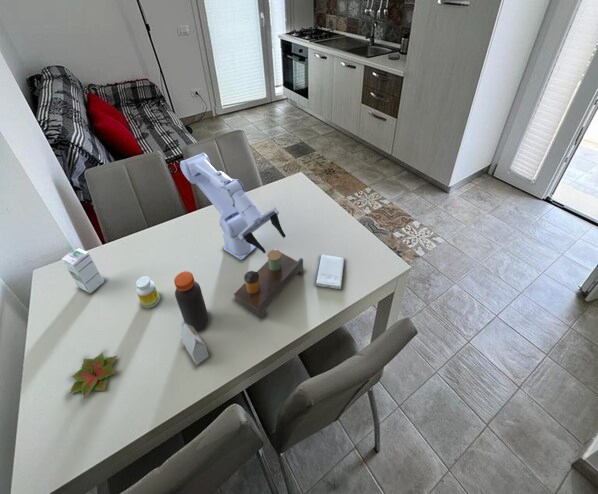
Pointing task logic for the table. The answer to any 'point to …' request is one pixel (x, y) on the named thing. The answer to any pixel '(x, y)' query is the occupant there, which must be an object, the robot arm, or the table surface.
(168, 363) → the table surface
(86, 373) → the red green leafy plant
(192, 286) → the vinegar
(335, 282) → the hard drive
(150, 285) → the supplement bottle
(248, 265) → the table surface
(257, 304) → the spice shelf
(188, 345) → the white gable top packet
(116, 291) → the table surface
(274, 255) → the sage jar
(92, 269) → the syrup box
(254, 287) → the ochre jar
